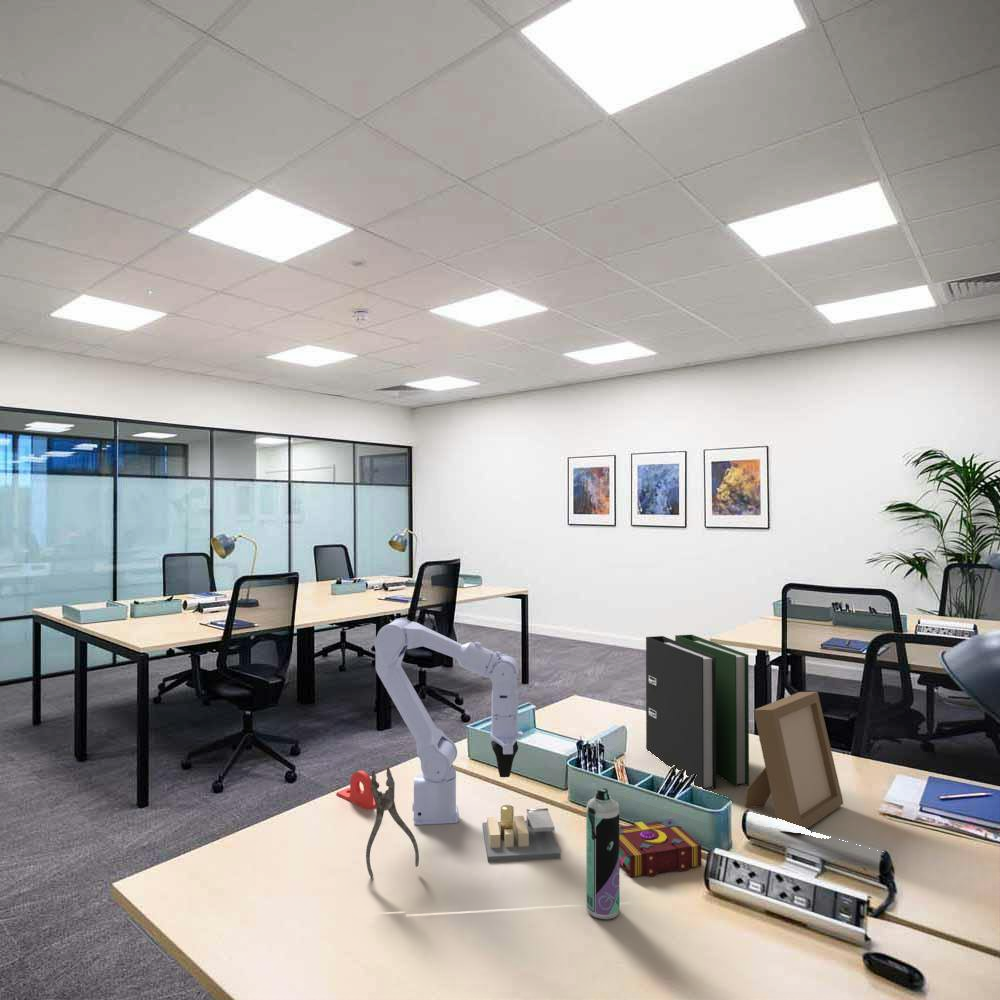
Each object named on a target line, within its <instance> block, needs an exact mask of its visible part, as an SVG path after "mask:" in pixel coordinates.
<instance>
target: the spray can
mask: <svg viewBox="0 0 1000 1000" xmlns="http://www.w3.org/2000/svg"><path fill="white" fill-rule="evenodd" d="M585 811H586V812H585V813H586V815H585V816H586V817H585V818H586V821H585V822H586V825H585V826H586V827H585V828H586V850H585V851H586V873H585V874H586V911H587V912H588V914H589V915H591V916H592V917H593V918H596V919H600V920H611V919H614V918H616V917H617V916H619V913H620V864H619V826H620V807H619V803H618V801H616V800H615V799H612V797H611V796H610V795H609V790H608V788H600V789H597V793H596V795H594V797H592V798H590V799H589V800H588V801H586V810H585Z"/></svg>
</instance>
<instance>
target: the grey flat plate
mask: <svg viewBox="0 0 1000 1000" xmlns="http://www.w3.org/2000/svg"><path fill="white" fill-rule="evenodd" d="M527 816H528V819H529V822H530V825H531V828H532V831H533V832H544V831H552V832H555V828H556V827H555V824H554V822H553V820H552V816H551V815H550V812H549V808H527V809H526V817H527Z"/></svg>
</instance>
